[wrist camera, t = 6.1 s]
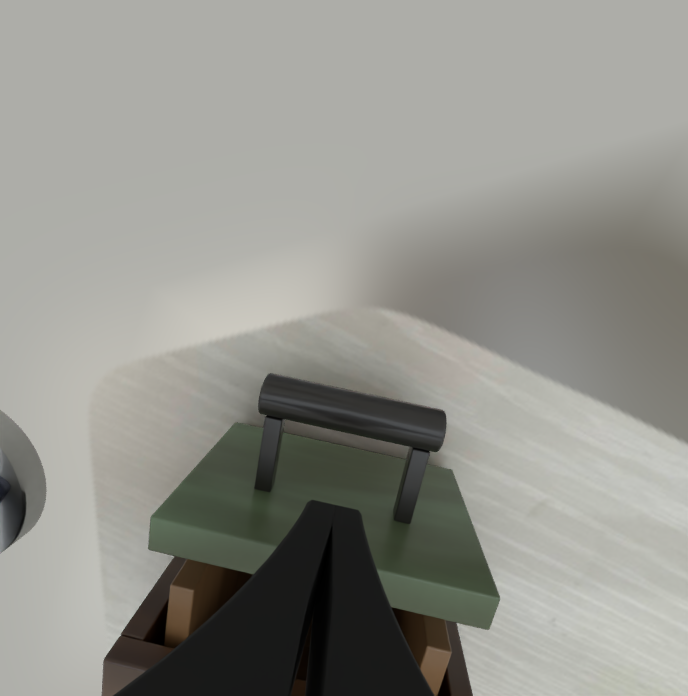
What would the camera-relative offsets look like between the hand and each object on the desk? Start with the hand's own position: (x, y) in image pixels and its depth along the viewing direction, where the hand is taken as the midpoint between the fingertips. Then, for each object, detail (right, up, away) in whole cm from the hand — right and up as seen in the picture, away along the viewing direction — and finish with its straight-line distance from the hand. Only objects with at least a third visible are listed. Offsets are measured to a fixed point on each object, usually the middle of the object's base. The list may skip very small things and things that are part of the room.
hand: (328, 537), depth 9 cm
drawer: (0, -3, +9) cm, 9 cm away
